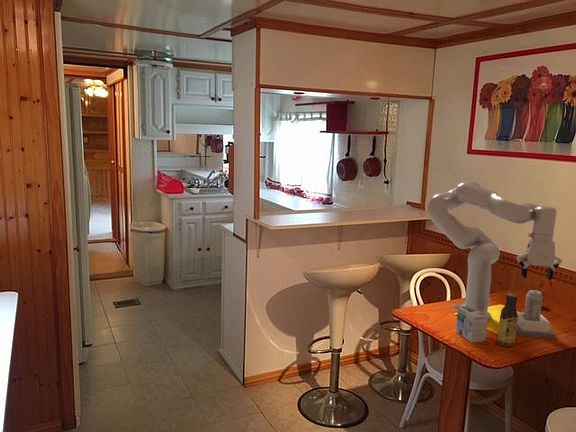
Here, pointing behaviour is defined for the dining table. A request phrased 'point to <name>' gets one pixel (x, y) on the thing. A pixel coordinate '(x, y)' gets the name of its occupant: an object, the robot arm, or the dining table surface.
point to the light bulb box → (471, 324)
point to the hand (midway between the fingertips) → (536, 278)
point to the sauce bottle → (508, 321)
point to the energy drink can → (533, 305)
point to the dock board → (534, 327)
